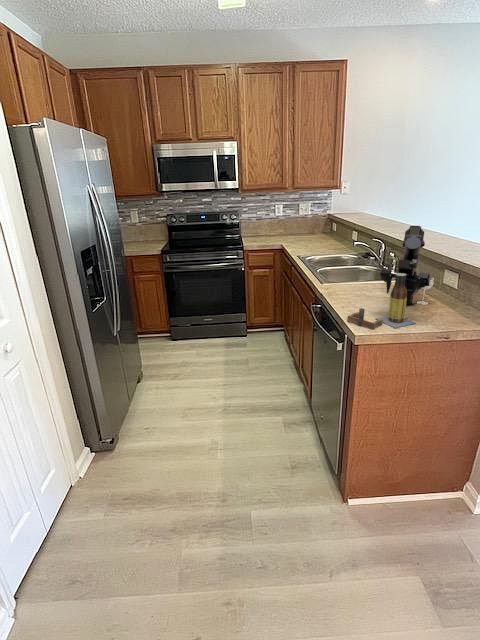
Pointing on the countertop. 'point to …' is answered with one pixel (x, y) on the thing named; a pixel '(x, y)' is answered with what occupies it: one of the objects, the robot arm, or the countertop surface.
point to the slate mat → (396, 324)
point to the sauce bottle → (398, 299)
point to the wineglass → (424, 291)
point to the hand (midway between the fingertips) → (399, 294)
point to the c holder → (359, 320)
